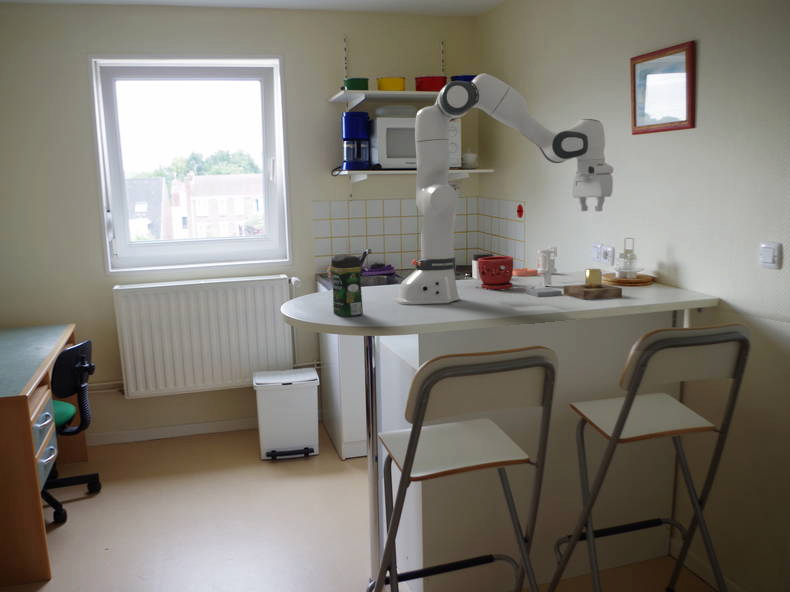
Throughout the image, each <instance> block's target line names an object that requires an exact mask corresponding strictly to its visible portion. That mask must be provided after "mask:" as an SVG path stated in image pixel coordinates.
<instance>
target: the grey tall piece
mask: <svg viewBox="0 0 790 592" xmlns="http://www.w3.org/2000/svg"><path fill="white" fill-rule="evenodd" d="M537 254H540V255H541V257H540V256H539V258H540V262H539V263H540V268H537V270H538V273H543V275H542V286H543V285H551V286H552V275H553V274H555V273H557V270H558V269H557V268H556V266H555V264H556V261H555V258H556V257H557V256H558V247H557V246H548V249H538V250H537ZM542 255H544V256H542ZM553 257H555V258H553Z"/></svg>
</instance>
